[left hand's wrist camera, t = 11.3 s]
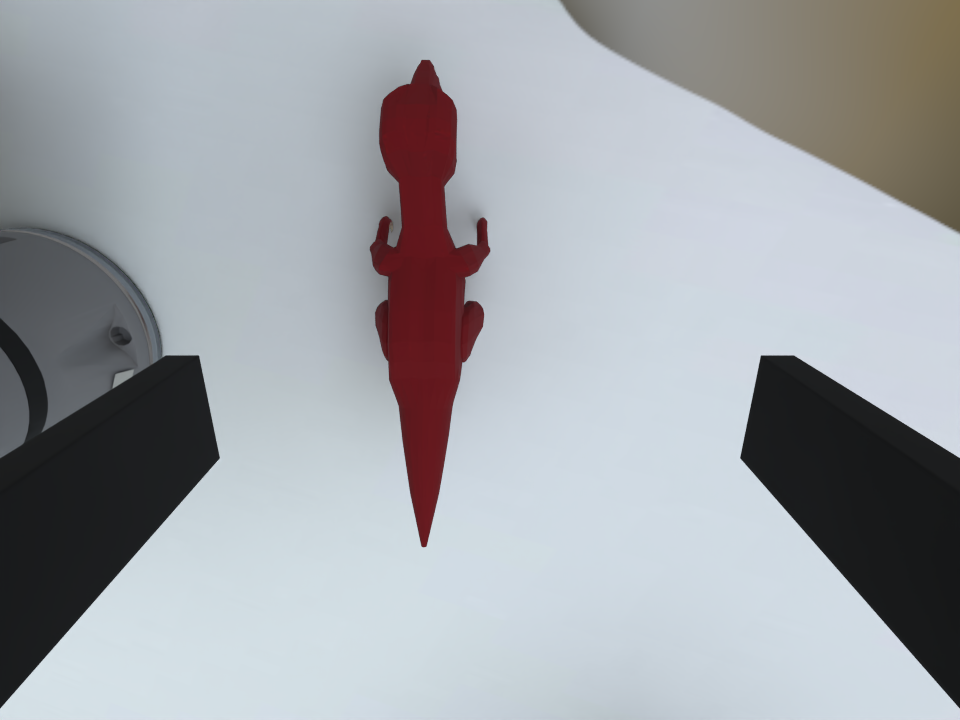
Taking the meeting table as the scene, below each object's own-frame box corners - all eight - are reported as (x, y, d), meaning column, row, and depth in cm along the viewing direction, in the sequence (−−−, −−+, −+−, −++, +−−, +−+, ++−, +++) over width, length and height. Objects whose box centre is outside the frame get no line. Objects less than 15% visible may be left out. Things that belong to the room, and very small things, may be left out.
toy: (489, 200, 40) (495, 23, 26) (485, 546, 33) (492, 566, 19) (393, 199, 40) (347, 21, 26) (369, 544, 33) (286, 563, 19)
